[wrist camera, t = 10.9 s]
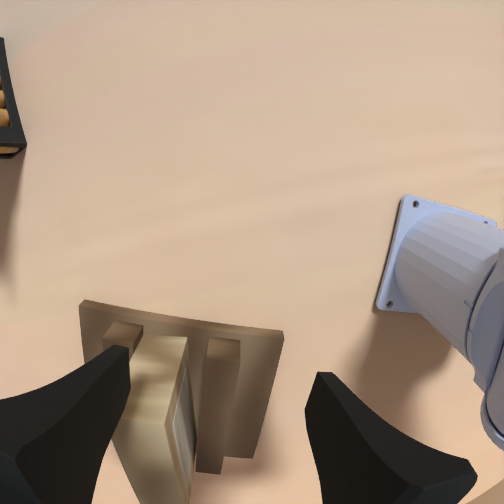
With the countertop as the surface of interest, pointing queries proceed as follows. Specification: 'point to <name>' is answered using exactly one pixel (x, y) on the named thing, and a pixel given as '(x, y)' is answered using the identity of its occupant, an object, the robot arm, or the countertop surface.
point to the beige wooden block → (159, 422)
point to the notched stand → (202, 372)
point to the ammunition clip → (8, 113)
